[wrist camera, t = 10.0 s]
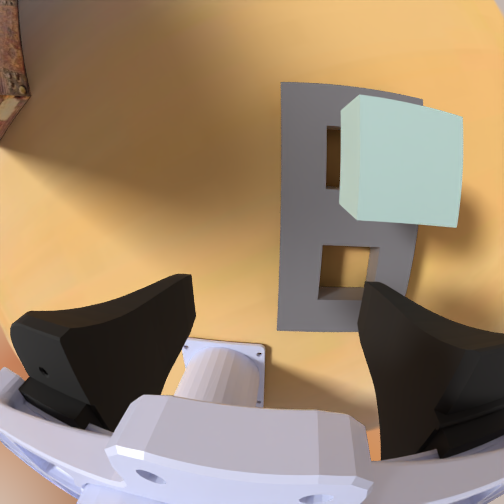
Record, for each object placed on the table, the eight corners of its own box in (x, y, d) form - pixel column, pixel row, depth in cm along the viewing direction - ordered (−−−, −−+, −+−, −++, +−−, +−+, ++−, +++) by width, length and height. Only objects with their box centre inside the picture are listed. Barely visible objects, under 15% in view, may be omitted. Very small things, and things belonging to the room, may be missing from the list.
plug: (402, 201, 14) (456, 227, 9) (330, 196, 15) (356, 220, 9) (405, 127, 13) (462, 116, 7) (332, 117, 13) (359, 94, 8)
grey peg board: (388, 316, 22) (395, 330, 20) (277, 315, 23) (276, 330, 21) (410, 103, 16) (422, 99, 14) (281, 89, 17) (280, 82, 15)
